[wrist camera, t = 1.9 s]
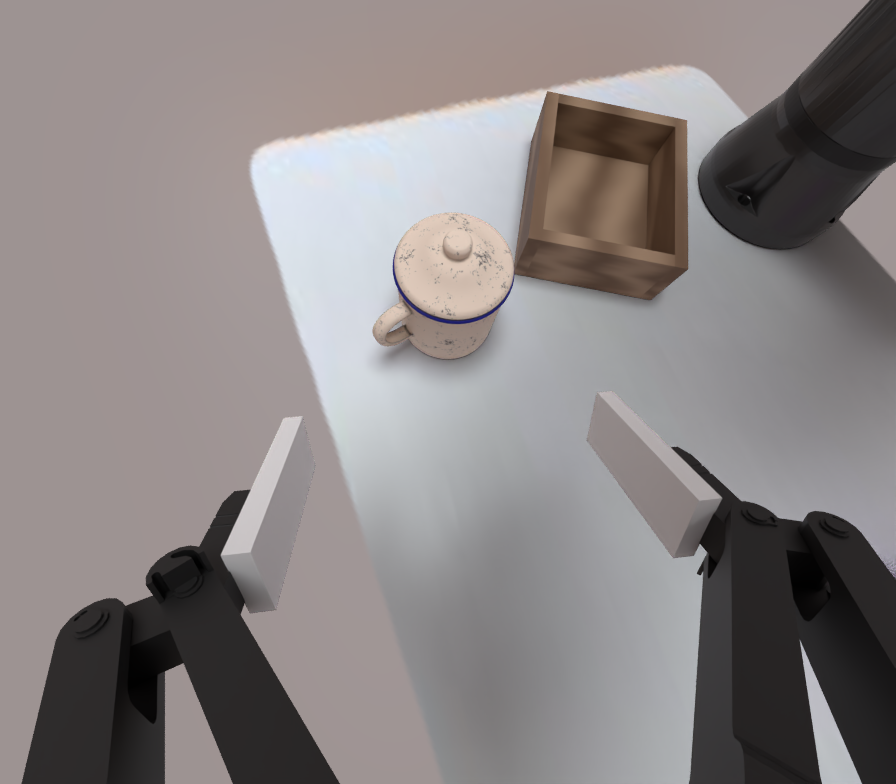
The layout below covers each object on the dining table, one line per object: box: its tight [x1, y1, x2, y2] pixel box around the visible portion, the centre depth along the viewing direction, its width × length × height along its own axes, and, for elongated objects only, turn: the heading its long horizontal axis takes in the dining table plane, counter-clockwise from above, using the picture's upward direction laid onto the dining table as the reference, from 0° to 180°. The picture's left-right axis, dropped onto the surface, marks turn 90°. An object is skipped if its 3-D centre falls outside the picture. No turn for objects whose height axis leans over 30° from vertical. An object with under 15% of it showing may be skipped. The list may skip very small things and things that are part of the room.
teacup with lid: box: [373, 213, 514, 359], centre depth 30 cm, size 12×9×12 cm
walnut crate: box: [514, 91, 688, 300], centre depth 37 cm, size 14×17×6 cm
